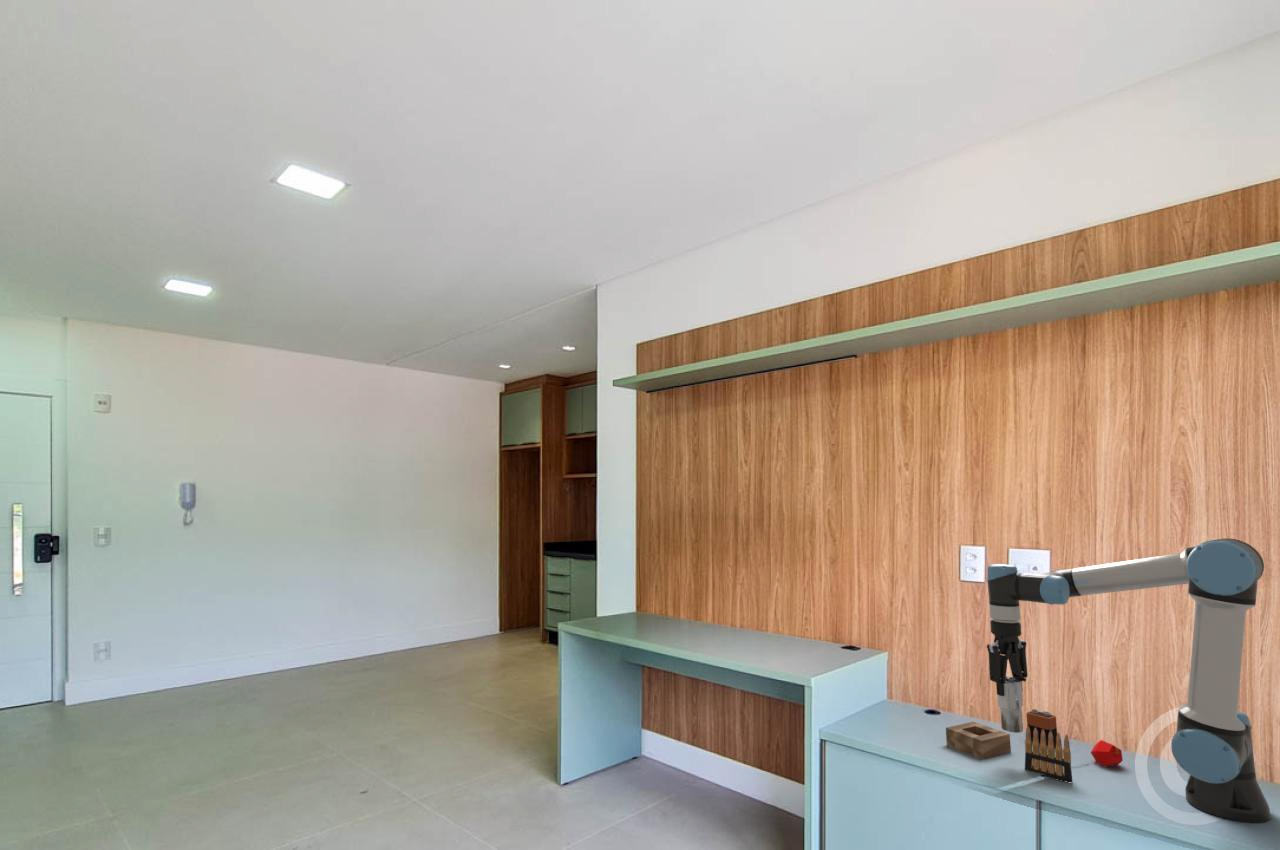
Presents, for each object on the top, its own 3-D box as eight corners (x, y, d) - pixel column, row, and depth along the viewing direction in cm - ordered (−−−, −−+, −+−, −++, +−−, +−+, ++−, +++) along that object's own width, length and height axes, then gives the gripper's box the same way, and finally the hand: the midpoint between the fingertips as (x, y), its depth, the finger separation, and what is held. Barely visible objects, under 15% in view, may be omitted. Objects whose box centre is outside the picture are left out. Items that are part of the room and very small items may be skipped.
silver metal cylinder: (1027, 730, 180) (1023, 678, 182) (1014, 733, 178) (1011, 681, 179) (1009, 724, 185) (1006, 674, 186) (997, 727, 182) (994, 676, 184)
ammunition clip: (1024, 771, 177) (1023, 726, 178) (1025, 769, 179) (1024, 724, 180) (1071, 783, 171) (1070, 736, 172) (1072, 780, 172) (1071, 734, 173)
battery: (1051, 750, 193) (1048, 715, 194) (1027, 743, 199) (1025, 709, 200) (1059, 747, 196) (1056, 712, 197) (1035, 740, 201) (1032, 706, 202)
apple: (1081, 739, 188) (1104, 737, 181) (1102, 742, 189) (1125, 740, 182) (1087, 766, 184) (1110, 765, 177) (1108, 769, 185) (1132, 768, 178)
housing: (1011, 755, 190) (1009, 734, 190) (983, 763, 185) (981, 740, 185) (974, 742, 200) (973, 721, 201) (946, 748, 195) (945, 727, 196)
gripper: (1014, 615, 192) (1019, 697, 189) (971, 620, 184) (976, 706, 181) (1038, 619, 185) (1045, 705, 182) (995, 625, 177) (1001, 714, 175)
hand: (1010, 705), depth 182 cm, fingers closed on silver metal cylinder, 5 cm apart
